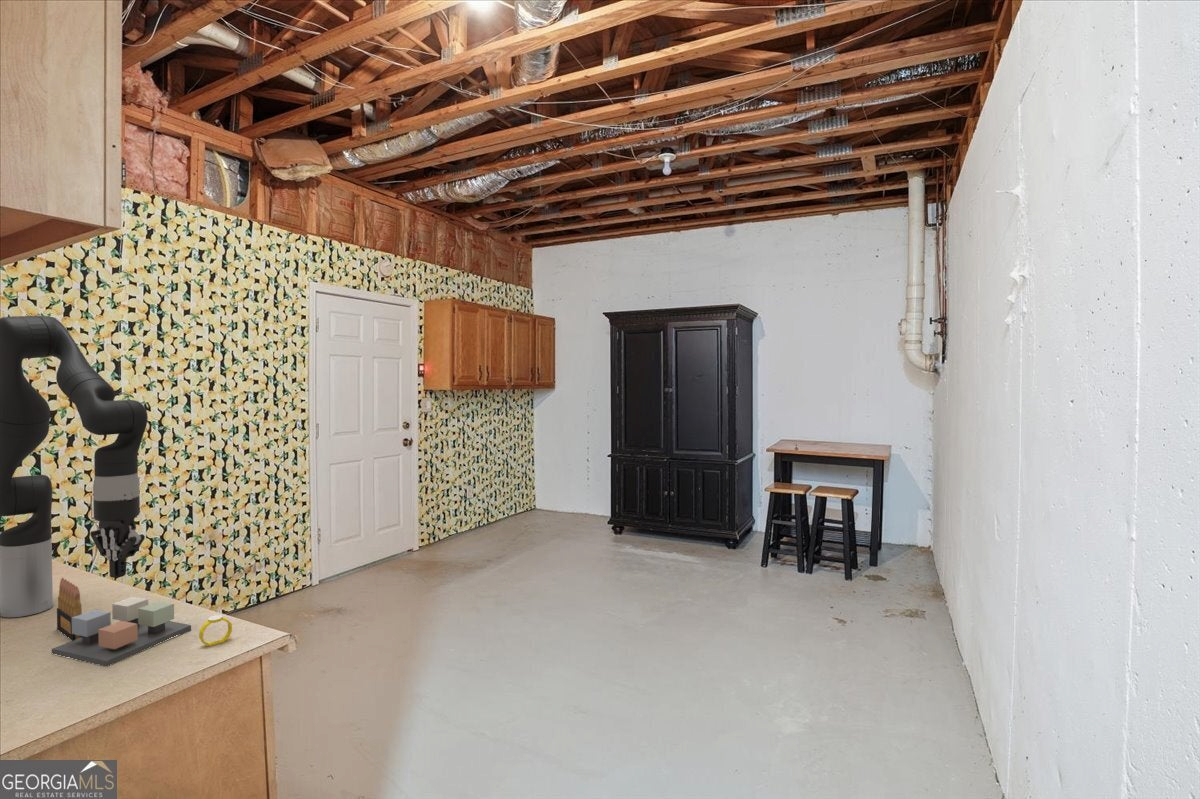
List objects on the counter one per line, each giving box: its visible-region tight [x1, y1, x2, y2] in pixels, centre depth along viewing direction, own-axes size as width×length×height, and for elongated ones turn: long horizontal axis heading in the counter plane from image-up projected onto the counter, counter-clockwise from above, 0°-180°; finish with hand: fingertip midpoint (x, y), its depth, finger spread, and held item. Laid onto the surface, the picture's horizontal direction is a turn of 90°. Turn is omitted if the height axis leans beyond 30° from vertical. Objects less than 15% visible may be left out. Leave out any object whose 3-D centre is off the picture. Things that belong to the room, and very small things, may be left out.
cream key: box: [111, 596, 149, 622], centre depth 135 cm, size 5×5×4 cm
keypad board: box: [51, 618, 192, 667], centre depth 130 cm, size 16×18×4 cm
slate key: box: [72, 609, 112, 637], centre depth 127 cm, size 5×5×4 cm
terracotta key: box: [98, 620, 138, 649], centre depth 125 cm, size 5×5×4 cm
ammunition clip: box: [56, 577, 83, 641], centre depth 133 cm, size 11×2×12 cm, turn 57°
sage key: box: [138, 600, 175, 627], centre depth 132 cm, size 5×5×4 cm
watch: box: [198, 614, 233, 647], centre depth 130 cm, size 6×3×6 cm, turn 139°
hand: (117, 576), depth 124 cm, fingers closed
